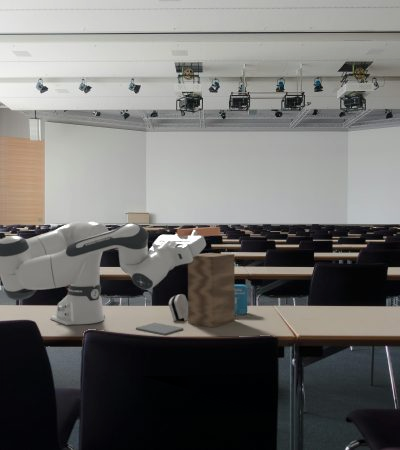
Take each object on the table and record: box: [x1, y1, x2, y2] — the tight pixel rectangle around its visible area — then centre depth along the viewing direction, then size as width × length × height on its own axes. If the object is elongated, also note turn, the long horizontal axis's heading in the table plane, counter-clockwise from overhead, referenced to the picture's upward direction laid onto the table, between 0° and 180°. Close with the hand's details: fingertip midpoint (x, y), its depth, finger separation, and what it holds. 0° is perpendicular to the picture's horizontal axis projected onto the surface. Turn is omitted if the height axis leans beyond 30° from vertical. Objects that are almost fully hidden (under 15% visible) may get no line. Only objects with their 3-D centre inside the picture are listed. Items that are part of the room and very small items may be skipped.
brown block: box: [187, 252, 236, 328], centre depth 180 cm, size 12×14×26 cm
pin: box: [176, 226, 221, 237], centre depth 172 cm, size 3×22×3 cm, turn 143°
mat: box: [135, 322, 184, 336], centre depth 168 cm, size 14×10×1 cm
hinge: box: [168, 293, 188, 322], centre depth 190 cm, size 17×5×10 cm, turn 169°
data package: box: [234, 283, 248, 316], centre depth 195 cm, size 12×4×12 cm, turn 84°
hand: (190, 231), depth 168 cm, fingers closed on pin, 3 cm apart
